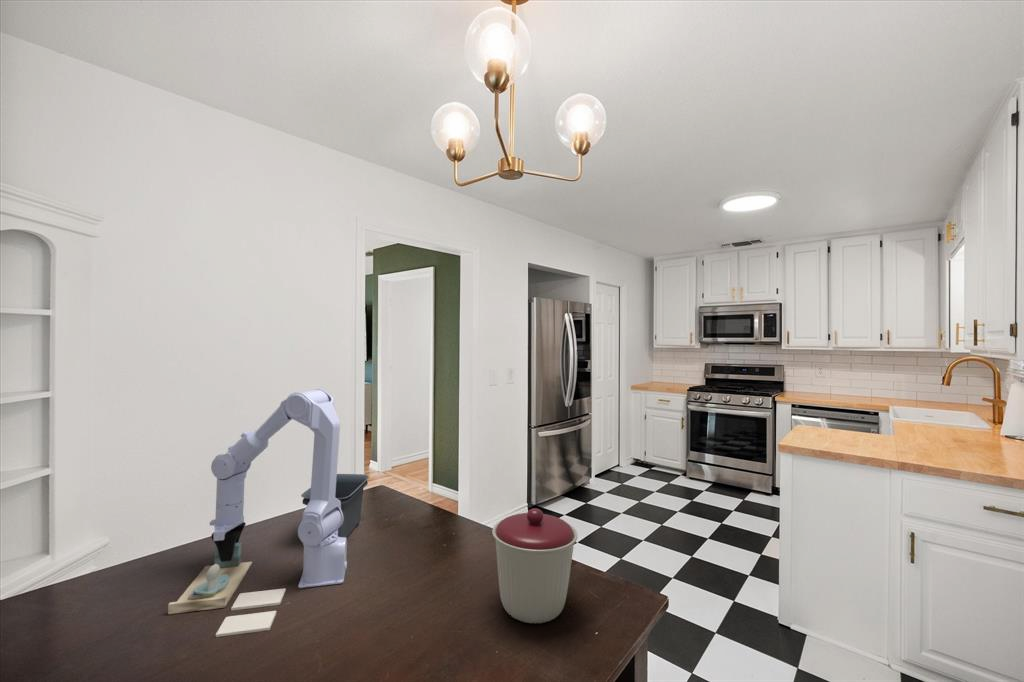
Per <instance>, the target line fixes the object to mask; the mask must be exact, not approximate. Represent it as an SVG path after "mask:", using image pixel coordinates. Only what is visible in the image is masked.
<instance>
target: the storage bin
mask: <svg viewBox="0 0 1024 682" xmlns="http://www.w3.org/2000/svg"><path fill="white" fill-rule="evenodd" d="M369 478H370V476H369V475H368V474H363V473H362V474H358V473H354V474H353V473H337V477H336V492H335V498H337V499H338V500H340V501H341V510H342V513H343V517H344V519H343V523H342V525H341V527H340V528H338V537H346V538H347V539H348V537H349V535H350V534H351V533H352V532H353V530H355V528H356V527H357V526H358V525H359V523H360V522H361V517H362V506H363V505H362V504H363V496H364V495H363V494H364V488H365V487H366V486H367V485H369V484H368V482H369V481H368V479H369ZM310 493H311V487H309V488H308V489H306V490H305V491H304V492H302V494H301V498H303V499H302V504H303V505H305V506H307V505H308V503H309V501H310Z"/></svg>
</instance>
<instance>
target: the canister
mask: <svg viewBox="0 0 1024 682" xmlns="http://www.w3.org/2000/svg"><path fill="white" fill-rule="evenodd" d="M491 533H492V536H493V538H494V540H495V549H496V552H495V554H496V565H497V576H498V586H499V596H500V601H501V603H502V606H503V609H504V610H505V612H506V613H507V614H508V615H509V616H510V615H511V616H510V617H512V619H515V620H517V621H519V622H523V623H528V624H533V623H534V624H537V623H538V624H543V623H547V622H551V621H552V620H555V619H556V618H557V617H558V616H560V614H561V613H562V611H563V609H564V607H565V604H566V602H567V600H566V599H567V595H568V589H569V582H570V576H571V575H570V574H571V567H572V560H573V554H574V544H575V543H576V542H577V540H578V532H577V530H576V528H574V526H573V525H571V524H570V523H568V522H567V521H565V520H564V519H563V518H560V517H557V516H554V515H550V514H546V513H543V511H542V510H541V509H539V508H531V509H528V511H527V512H523V513H518V514H517V513H516V514H512V515H510V516H507V517H505V518H503V519H502V520H499V521H498V522H496V524H494V525H493V527H492V531H491Z"/></svg>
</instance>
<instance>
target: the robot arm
mask: <svg viewBox="0 0 1024 682" xmlns="http://www.w3.org/2000/svg"><path fill="white" fill-rule="evenodd" d="M334 404H335V398H334V397H333V396H332V395H330V393H328V392H327V391H326V389H325V390H324V389H322V388H316V389H313V390H307V391H302V392H301V391H299V392H298V391H297V392H293V393H290V394H289V395H288V396H287V398H286V399H284V400H282V401H281V402H280V404H279V406H278V408H276V410H275V411H274V412H273V413H272V414H271V415H269V416H268V418H267V419H266V420H265V421H264V422H263V423H262V424H261V425H260V427H259V428H258V429H256V430H255V429H254V430H253V429H252V430H249V431H245V432H242V434H240V437H241V438H239V439H238V441H237V442H235V444H233V445H230V446H229V447H228V448H227V451H226V453H221V454H217V455H216V456H215V457H214V459H213V460H212V462H211V466H210V467H211V468H210V469H211V473H212V475H213V476H214V477H215V478H216V492H215V493H216V495H215V497H216V498H215V519H211V521H209V526H214V532H212V533H211V536H210V537H211V540H212V542H213V543H214V544H215V547H216V546H217V549H218V552H219V557H220V560H221V562H224V561H231V559H232V556H233V552H234V546H235V543H239V541H240V538H241V535H242V533H243V530H244V529H245V527H246V522H245V516H244V509H245V508H244V507H245V479H246V478H247V472H248V471H249V470H250V469H251V465H252V462H253V461H254V460H255V459H256V458H257V457H258V456H259V455H261V453H263V452H264V451H265V450H266V449H267V448H268V446H269V440H270V438H272V436H275V434H276V433H277V432H279V431H280V430H281V429H282V428H284V427H285V426H286V425H287V424H288V423H289V422H291V421H292V420H294V421H295V422H297V423H299V424H301V425H303V426H305V427H307V428H308V429H310V431H312V432H313V434H314V436H313V437H314V438H313V452H312V464H311V465H312V466H311V478H310V479H311V480H310V482H311V483H310V488H311V493H310V501H309V503H308V505H306V506H305V508H304V510H303V512H302V519H301V520H300V521H301V522H300V523H299V524H298V527H297V528H298V529H297V536H298V538H299V541H301V543H302V545H303V564H302V565H303V567H302V569H303V571H302V575H301V578H300V581H299V583H298V586H297V587H298V588H299V589H303V588H304V589H305V588H311V587H313V588H314V587H321V586H330V585H338V584H343V583H344V582H345V581H344V580H345V575H346V570H347V567H348V561H347V548H348V546H347V544H348V540H347V539H348V537H347V538H346V537H338V528H340V527H341V525H342V523H343V519H344V517H343V513H342V510H341V501H340V500H338V499H337V498H335V492H336V477H337V474H338V462H339V461H338V460H339V448H340V447H339V445H340V432H341V431H340V430H341V422H340V419H339V417H338V414H337V412H336V409H335V406H334Z"/></svg>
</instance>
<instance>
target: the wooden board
mask: <svg viewBox="0 0 1024 682" xmlns="http://www.w3.org/2000/svg"><path fill="white" fill-rule="evenodd" d="M214 564H218V565H219V567H220V571H219V574H218V575H217V576H219V575H223V574H227V575H229V582H228V584H227V585H226V586H225V587H224V588H222V589H220V590H219V591H218V593H216V594H215V595H213V596H211V597H207V598H198V599H190V598H189V594H190V593H191V592H192V591H193V590H194V589H196V588H197V587H199V586H201V585H202V584H204V583H206V582H207V581H208V580H206V574H207V572H208V570H209V569H210V568H211V567H212V566H213V565H214ZM214 564H213V565H205V566H204V567H203V569H202V570H201V571H200V572H199V574H198V575H197V576H196V577H195V579H193V581H192V582H191V584H189V586H188V587H187V588H186V590H185V591H184V592H183V593H182V594H181V595H180V597H179V598H178V599H177V601H172V602H171V601H170V602H169V603H168V607H167V609H168V610H167V615H173V614H181V613H189V612H190V613H191V612H195V611H196V612H198V611H207V610H213V609H223V608H226V606H227V605H228V603H229V602H230V600H231V598H232V597H233V595H234V594H235V592H236V591H237V589H238V587H239V586H240V584H241V582H242V581H243V579H244V578H245V575H247V572H248V571H249V569H250V567H251V566H252V564H253V561H246V562H242V542H238V543H235V546H234V552H233V556H232V559H231V561H224V562H221V560H220V557H219V552H218V549H217V546H216V545H215V548H214ZM224 583H225V582H223V583H222V584H224ZM195 595H200V594H195Z"/></svg>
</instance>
